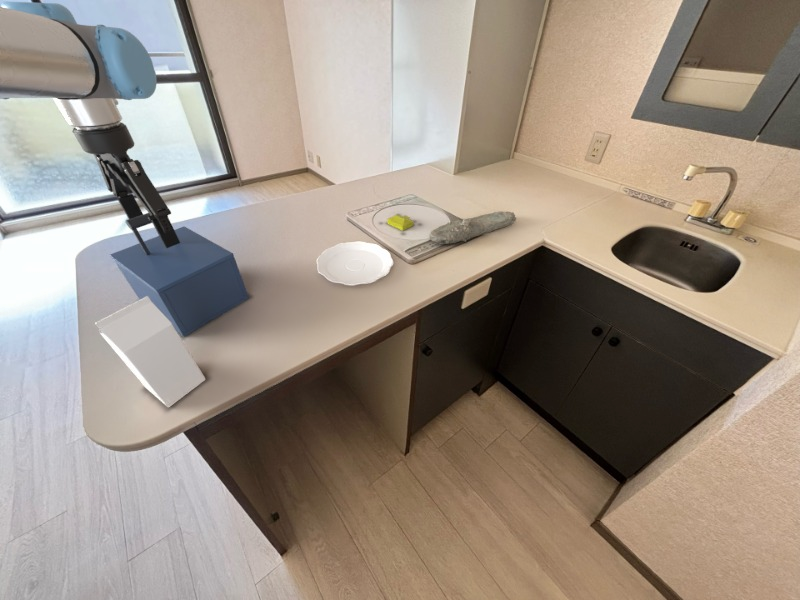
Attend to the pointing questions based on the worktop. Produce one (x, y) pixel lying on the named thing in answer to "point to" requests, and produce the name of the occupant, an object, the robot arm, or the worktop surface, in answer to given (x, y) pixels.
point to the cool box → (195, 295)
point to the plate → (354, 263)
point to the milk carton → (152, 350)
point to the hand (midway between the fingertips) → (156, 234)
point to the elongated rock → (471, 227)
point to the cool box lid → (168, 256)
